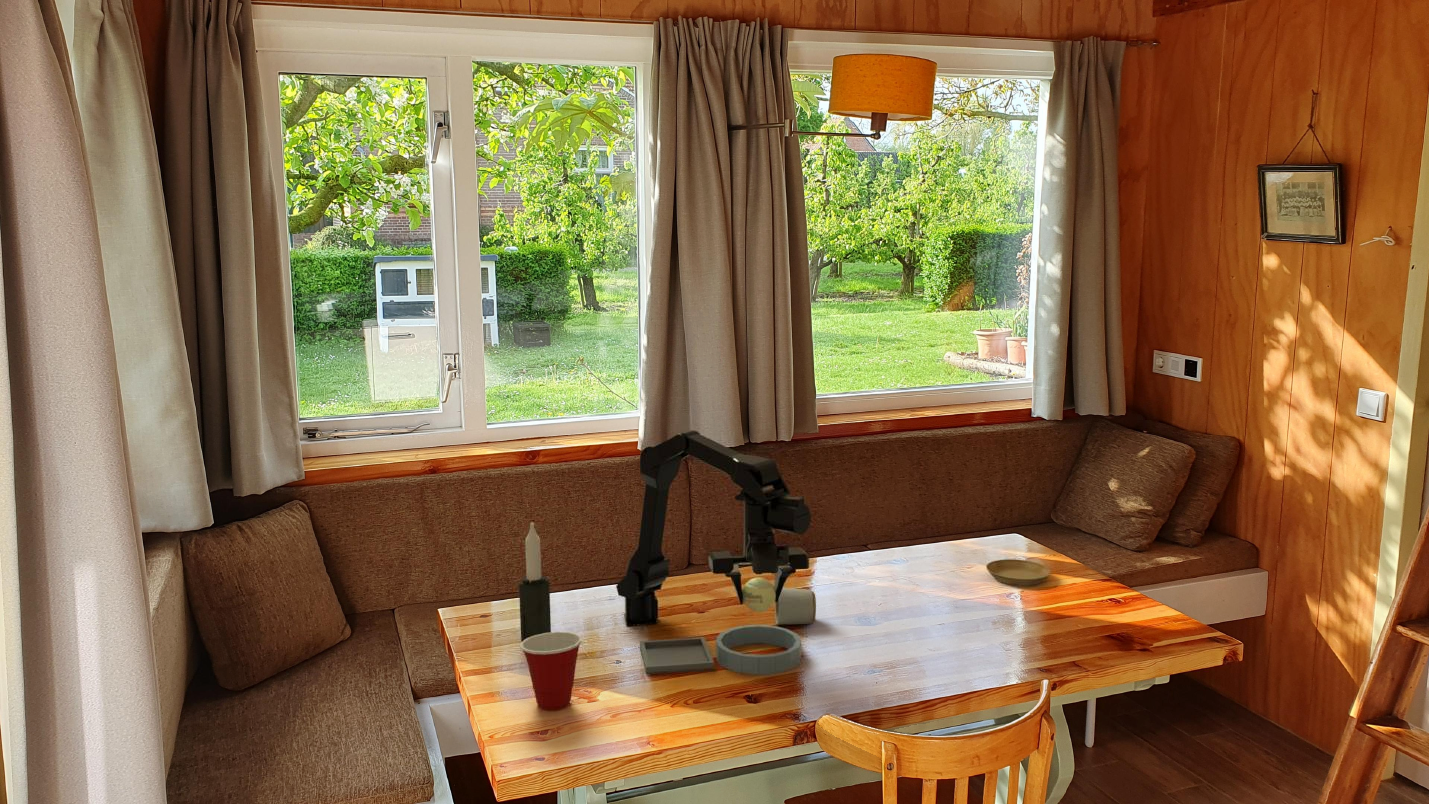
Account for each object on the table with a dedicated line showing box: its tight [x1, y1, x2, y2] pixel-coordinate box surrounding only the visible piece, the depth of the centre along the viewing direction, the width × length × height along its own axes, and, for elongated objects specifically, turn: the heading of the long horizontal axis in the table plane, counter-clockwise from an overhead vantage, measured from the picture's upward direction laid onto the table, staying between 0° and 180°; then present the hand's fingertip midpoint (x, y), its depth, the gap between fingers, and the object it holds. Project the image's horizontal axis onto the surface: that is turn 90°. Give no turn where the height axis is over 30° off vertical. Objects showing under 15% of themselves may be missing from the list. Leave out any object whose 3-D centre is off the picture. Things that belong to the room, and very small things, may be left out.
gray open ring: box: [715, 624, 802, 676], centre depth 214 cm, size 16×16×4 cm
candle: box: [518, 521, 552, 643], centre depth 221 cm, size 5×5×25 cm
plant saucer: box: [985, 558, 1052, 587], centre depth 260 cm, size 15×15×3 cm
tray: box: [639, 636, 715, 676], centre depth 214 cm, size 13×13×2 cm
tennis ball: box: [742, 576, 776, 613], centre depth 212 cm, size 6×7×7 cm
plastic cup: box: [519, 631, 582, 712], centre depth 194 cm, size 11×11×12 cm
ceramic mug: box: [774, 587, 817, 626], centre depth 234 cm, size 11×8×8 cm
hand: (758, 602), depth 213 cm, fingers closed on tennis ball, 6 cm apart
